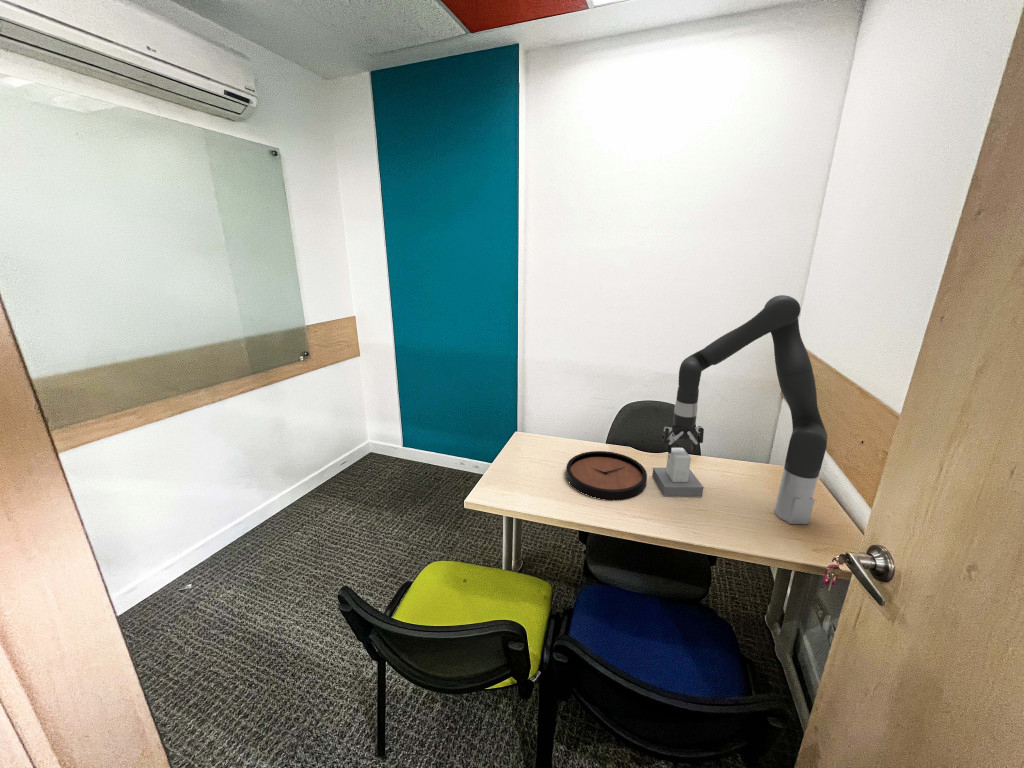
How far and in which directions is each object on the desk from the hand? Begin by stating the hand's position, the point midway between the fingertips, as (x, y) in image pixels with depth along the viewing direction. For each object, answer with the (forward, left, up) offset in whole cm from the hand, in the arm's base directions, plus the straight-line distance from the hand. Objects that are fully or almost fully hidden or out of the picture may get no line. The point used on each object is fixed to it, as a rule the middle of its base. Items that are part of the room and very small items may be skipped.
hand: (680, 452), depth 149 cm
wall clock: (+6, +26, -15) cm, 31 cm away
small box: (0, 0, -11) cm, 11 cm away
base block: (0, 0, -15) cm, 15 cm away
